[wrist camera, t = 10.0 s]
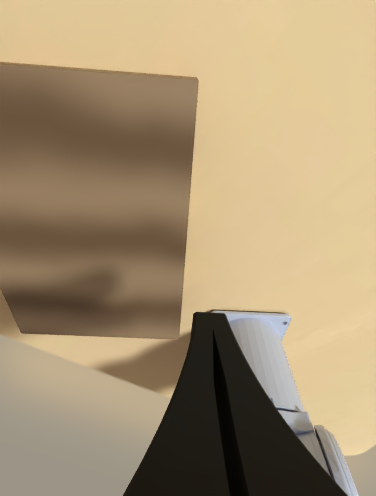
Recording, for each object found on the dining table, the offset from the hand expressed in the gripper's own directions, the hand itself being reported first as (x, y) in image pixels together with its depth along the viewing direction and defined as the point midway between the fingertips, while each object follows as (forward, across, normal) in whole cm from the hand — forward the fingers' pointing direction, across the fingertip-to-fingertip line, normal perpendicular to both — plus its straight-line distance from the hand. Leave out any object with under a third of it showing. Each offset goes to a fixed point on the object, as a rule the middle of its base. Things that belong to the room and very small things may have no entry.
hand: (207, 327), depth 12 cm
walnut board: (+10, +8, +1) cm, 13 cm away
